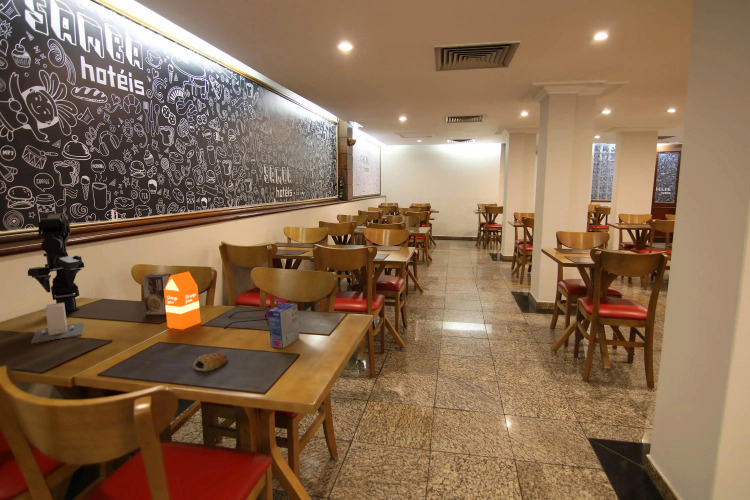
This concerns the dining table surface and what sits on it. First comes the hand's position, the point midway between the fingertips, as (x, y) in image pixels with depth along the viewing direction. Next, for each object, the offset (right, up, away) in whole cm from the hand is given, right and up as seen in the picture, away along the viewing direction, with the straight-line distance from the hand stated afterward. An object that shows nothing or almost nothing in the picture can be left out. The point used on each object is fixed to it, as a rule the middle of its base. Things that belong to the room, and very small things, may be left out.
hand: (60, 289), depth 162 cm
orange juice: (+51, -13, -4) cm, 53 cm away
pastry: (+76, -19, -42) cm, 89 cm away
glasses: (+74, -13, -1) cm, 75 cm away
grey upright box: (+33, -11, +12) cm, 37 cm away
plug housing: (+8, -14, -12) cm, 20 cm away
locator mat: (+9, -15, -12) cm, 21 cm away
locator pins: (+10, -14, -14) cm, 22 cm away
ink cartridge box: (+94, -15, -24) cm, 98 cm away
